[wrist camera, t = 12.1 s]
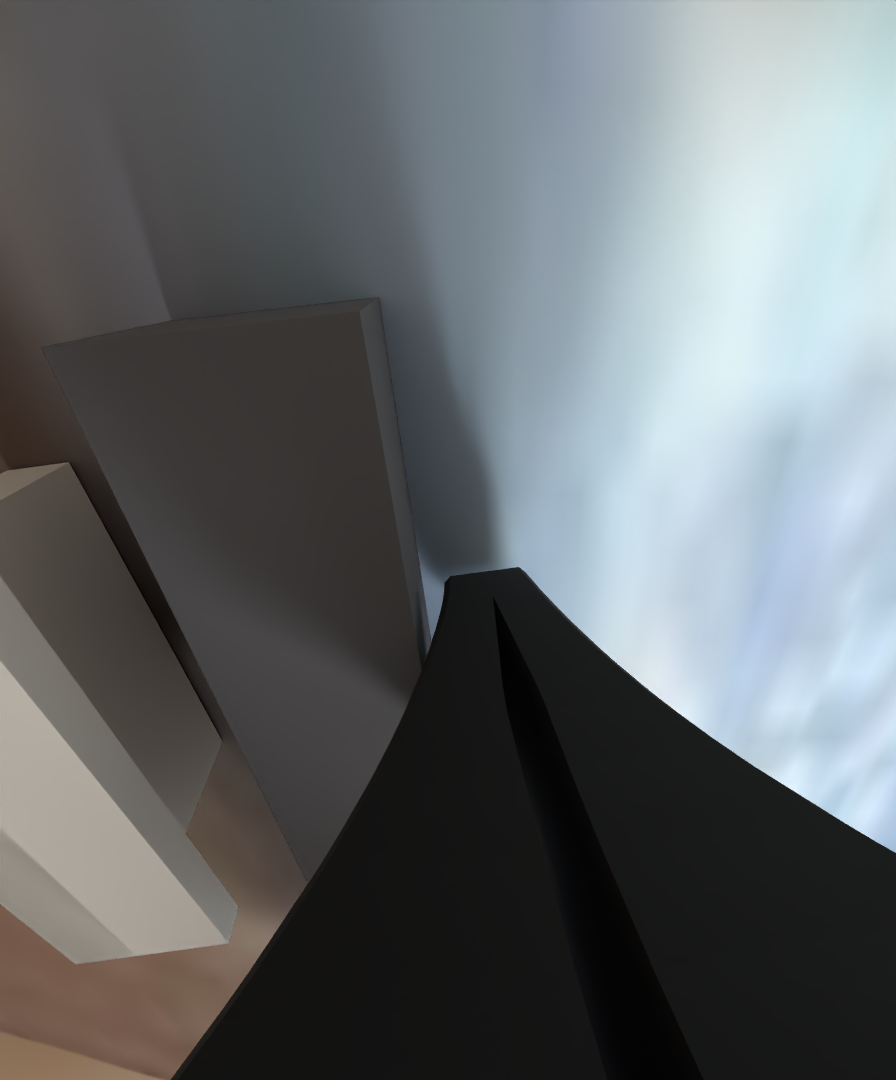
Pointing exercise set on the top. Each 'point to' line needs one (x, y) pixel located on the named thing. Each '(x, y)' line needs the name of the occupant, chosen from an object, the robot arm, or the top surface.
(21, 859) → the side clip
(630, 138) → the top surface
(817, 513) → the top surface
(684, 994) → the robot arm
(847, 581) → the top surface
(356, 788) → the block
